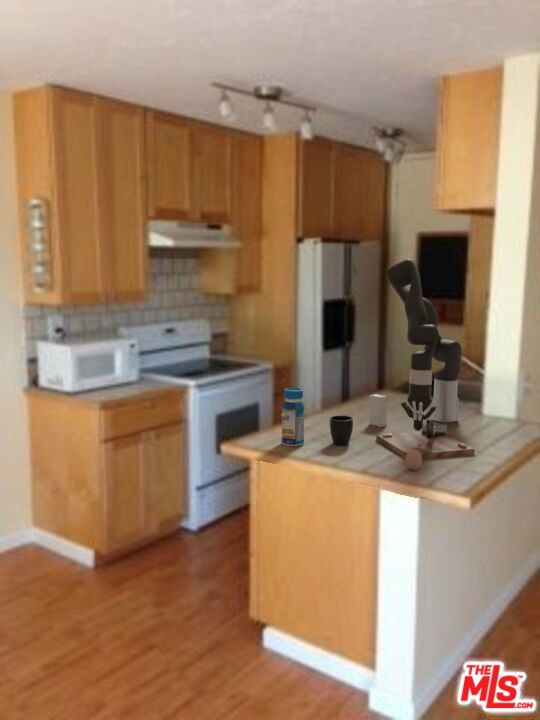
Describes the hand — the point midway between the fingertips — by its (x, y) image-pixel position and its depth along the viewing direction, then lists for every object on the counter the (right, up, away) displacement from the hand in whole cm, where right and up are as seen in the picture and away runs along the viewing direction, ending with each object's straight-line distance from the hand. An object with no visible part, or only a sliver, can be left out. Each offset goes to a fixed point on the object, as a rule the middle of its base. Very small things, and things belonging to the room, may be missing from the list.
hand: (418, 430), depth 236 cm
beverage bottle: (-44, -6, +6) cm, 45 cm away
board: (+3, -6, +3) cm, 7 cm away
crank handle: (+7, -3, +8) cm, 11 cm away
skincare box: (-9, -2, +33) cm, 34 cm away
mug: (-26, -5, +9) cm, 28 cm away
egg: (-6, -11, -22) cm, 25 cm away
